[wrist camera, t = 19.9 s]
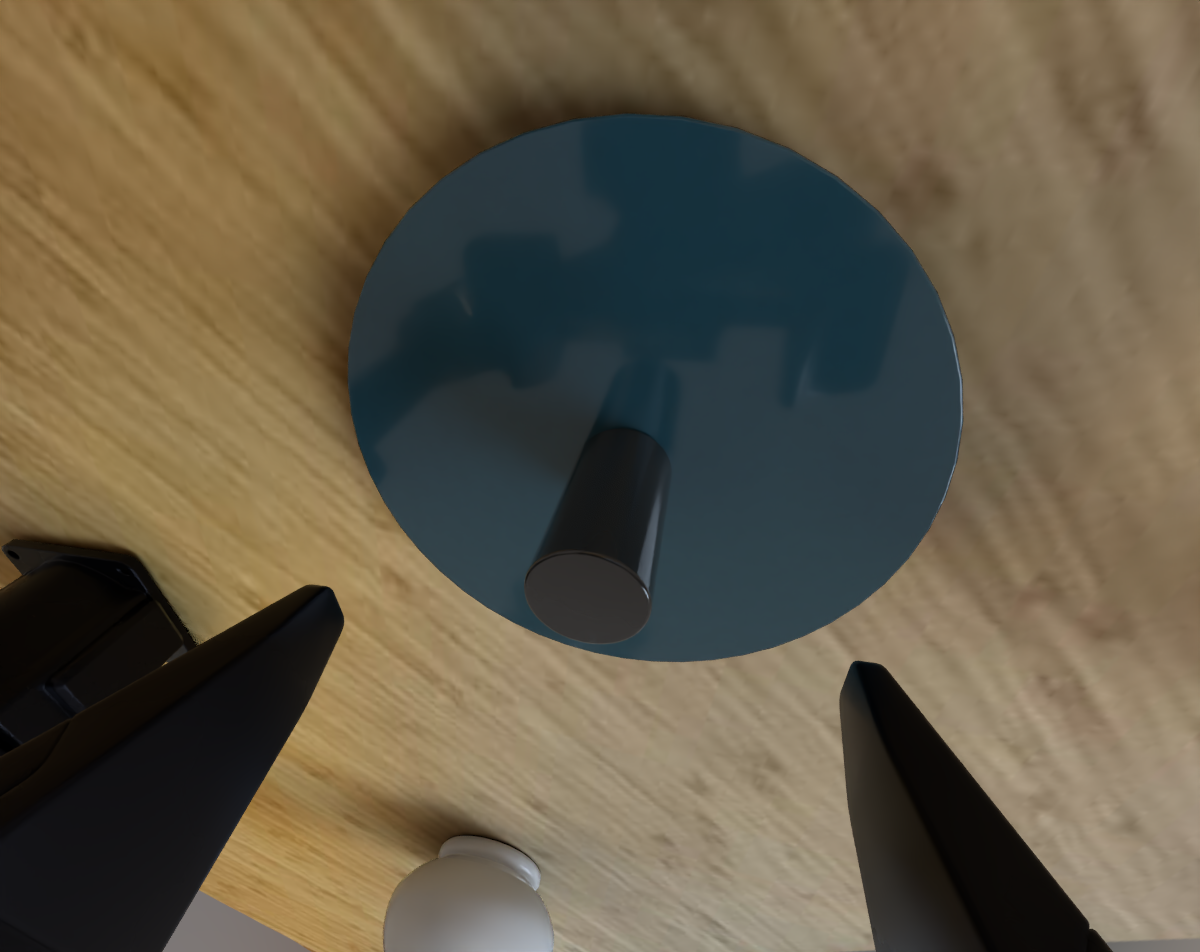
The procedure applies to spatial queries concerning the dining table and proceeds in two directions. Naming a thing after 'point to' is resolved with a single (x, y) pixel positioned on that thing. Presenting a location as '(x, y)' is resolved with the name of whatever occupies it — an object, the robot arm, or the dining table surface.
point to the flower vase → (470, 902)
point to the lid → (655, 387)
